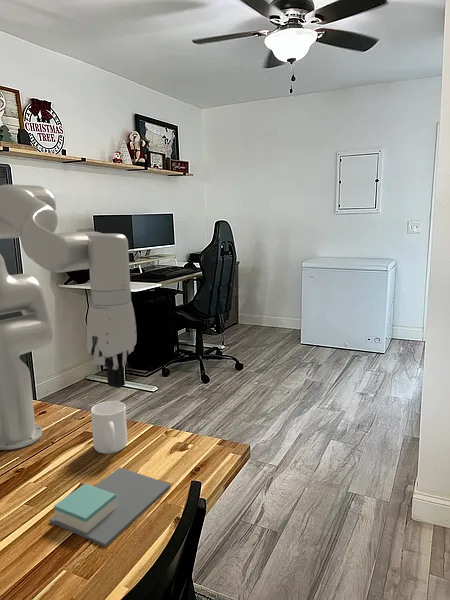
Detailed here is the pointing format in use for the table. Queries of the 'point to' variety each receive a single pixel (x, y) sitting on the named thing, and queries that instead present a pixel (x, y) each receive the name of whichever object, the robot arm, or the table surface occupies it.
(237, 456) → the table surface
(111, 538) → the mat
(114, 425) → the mug
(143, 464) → the table surface
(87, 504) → the cream and teal block
